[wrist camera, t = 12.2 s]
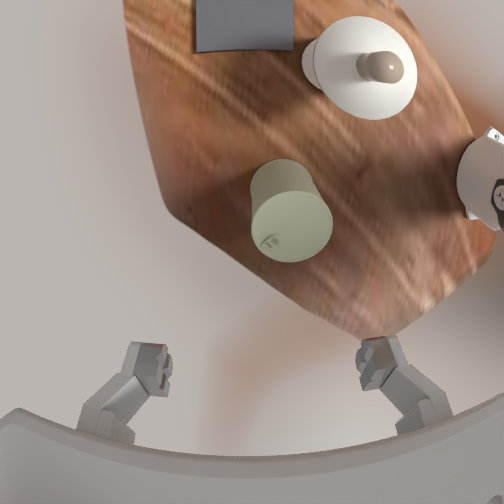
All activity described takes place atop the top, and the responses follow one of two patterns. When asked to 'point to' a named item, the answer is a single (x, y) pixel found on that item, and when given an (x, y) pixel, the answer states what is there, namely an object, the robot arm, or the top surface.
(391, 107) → the lid
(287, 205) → the can
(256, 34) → the mat
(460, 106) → the top surface
